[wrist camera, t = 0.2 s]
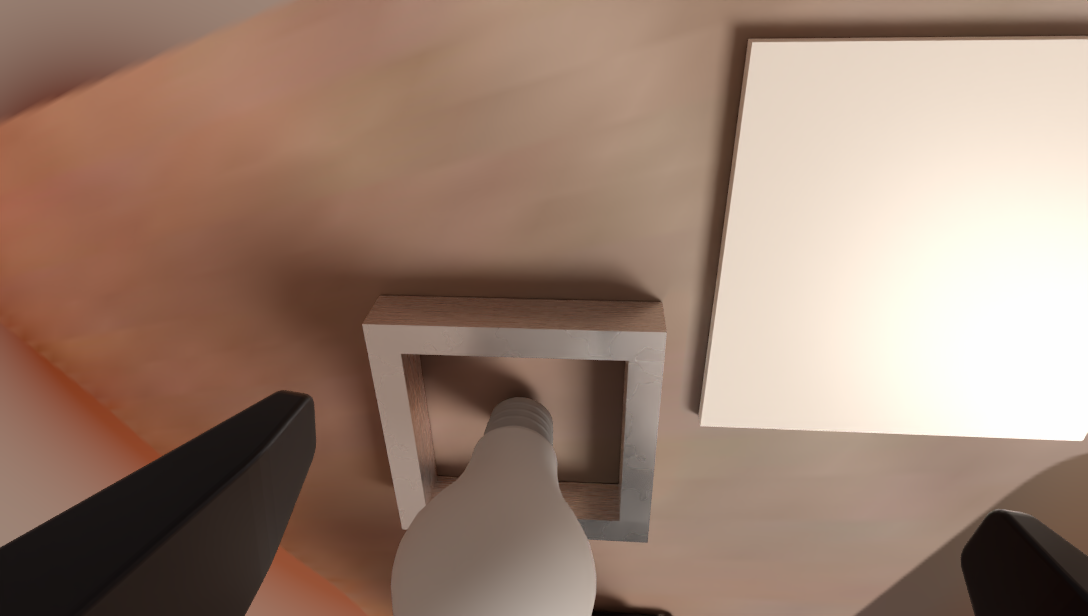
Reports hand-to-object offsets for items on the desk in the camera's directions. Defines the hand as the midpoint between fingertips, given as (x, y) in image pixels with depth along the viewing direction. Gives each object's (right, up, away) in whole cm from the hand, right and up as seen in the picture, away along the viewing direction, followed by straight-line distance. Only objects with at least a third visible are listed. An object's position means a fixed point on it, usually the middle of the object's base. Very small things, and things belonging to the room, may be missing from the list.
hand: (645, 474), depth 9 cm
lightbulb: (-2, -2, +18) cm, 18 cm away
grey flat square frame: (-2, -2, +18) cm, 18 cm away
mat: (+12, +4, +13) cm, 18 cm away
